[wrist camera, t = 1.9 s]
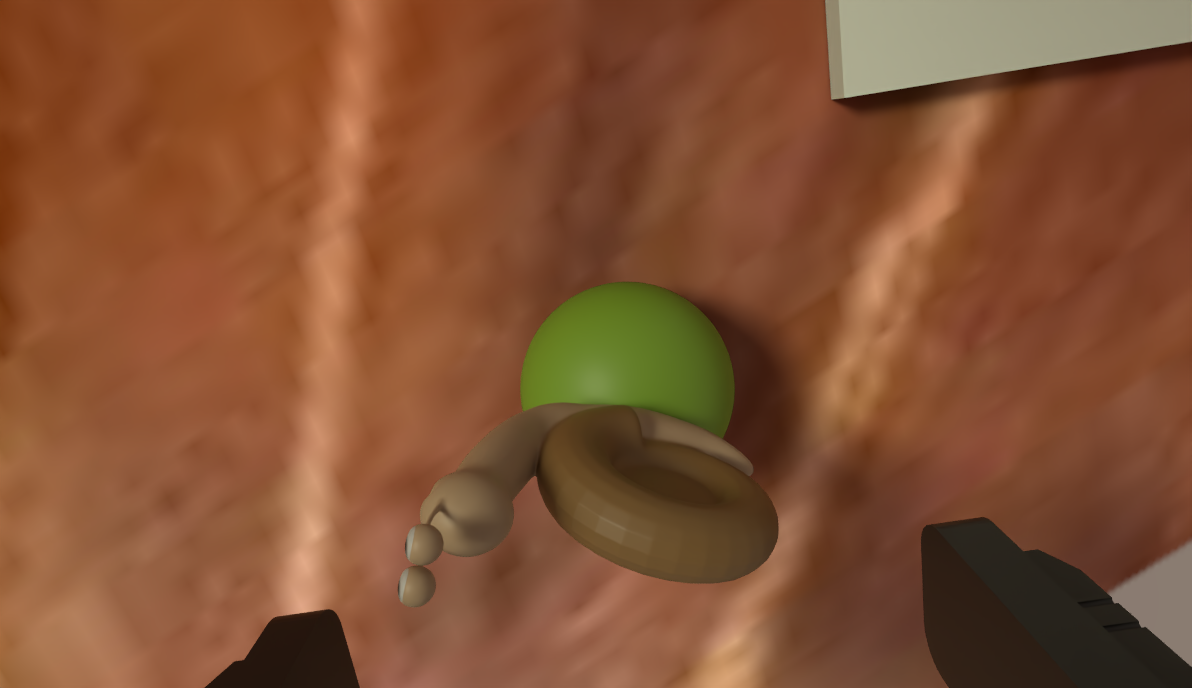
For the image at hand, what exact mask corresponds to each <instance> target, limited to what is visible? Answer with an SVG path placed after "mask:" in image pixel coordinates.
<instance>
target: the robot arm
mask: <svg viewBox="0 0 1192 688" xmlns="http://www.w3.org/2000/svg"><path fill="white" fill-rule="evenodd" d="M921 552H922V578H923V604H924V626H925V633H926V638H927V642H928V646H929V649H930V652H931V655H932V658H933V660H934V663H935V665H936V667H937V669H938V671H939V673H940V675H941V676H942V678H943V679H944V681H945V683H946V684H947V686H948V687H949V688H1192V667H1191V666H1189V665H1188V664H1187V663H1186V662H1185V661H1184V660H1183V659H1181V658H1180V657H1179V656H1178V655H1177V654H1176V653H1174V652H1173V651H1172V650H1171V649H1170V648H1169V647H1168V646H1167V645H1166V644H1164V643H1163V642H1162V641H1161V640H1160V639H1159V638H1158V637H1156V636H1155V635H1154V634H1153V633H1152V632H1151V631H1149V630H1148V629H1147V628H1146V627H1144V628H1141V626H1140V625H1139V621H1138V620H1137V619H1136V618H1135V617H1134V616H1132V615H1131V614H1130V613H1129V612H1128V611H1127V610H1125V609H1124V608H1123V607H1122V606H1121V605H1120V604H1119V603H1116V604H1114V603H1113V601H1112V597H1111V596H1110V595H1108V594H1107V593H1106V592H1105V591H1104V590H1103V589H1102V588H1100V587H1099V586H1098V585H1097V584H1096V583H1095V582H1094V581H1092V580H1091V579H1090V578H1089V577H1088V576H1087V575H1086V574H1084V573H1083V572H1082V571H1081V570H1079V569H1077V568H1075V567H1073V566H1071V565H1069V564H1067V563H1065V562H1063V561H1061V560H1059V559H1057V558H1055V557H1053V556H1050V555H1048V554H1046V553H1044V552H1042V551H1040V550H1038V549H1037V550H1030V551H1022V550H1021V549H1020V548H1019V547H1018V546H1017V545H1016V544H1015V543H1014V542H1013V541H1012V540H1011V539H1010V538H1009V537H1008V536H1007V535H1005V534H1004V533H1003V532H1002V531H1001V530H1000V529H999V528H998V527H997V526H996V525H995V524H994V523H993V522H992V521H990V520H989V519H987V518H984V517H980V518H973V519H966V520H959V521H952V522H945V523H938V524H931V525H926V526H925V527H924V529H923V531H922V536H921ZM205 688H360V687H359V683H358V680H357V676H356V673H355V670H354V666H353V663H352V659H351V656H350V652H349V649H348V646H347V642H346V639H345V635H344V632H343V628H342V625H341V622H340V620H339V617H338V616H337V614H336V613H335V612H334V611H333V610H330V609H328V610H320V611H313V612H307V613H300V614H293V615H286V616H279V617H275V618H273V619H272V620H271V621H270V622H269V623H268V624H267V626H266V627H265V629H264V630H263V632H262V634H261V635H260V637H259V638H258V640H257V641H256V643H255V644H254V646H253V647H252V649H251V650H250V652H249V653H248V655H247V656H246V658H245V659H244V660H242V661H235V662H233V663H232V664H231V665H230V666H229V667H228V668H227V669H225V670H224V671H223V672H222V673H221V674H220V675H219V676H217V677H216V678H215V679H214V680H213V681H212V682H211V683H209V684H208V685H207V686H206V687H205Z"/></svg>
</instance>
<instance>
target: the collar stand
mask: <svg viewBox="0 0 1192 688" xmlns="http://www.w3.org/2000/svg"><path fill="white" fill-rule="evenodd" d="M825 4H826V20H827V37H828V53H829V69H830V85H831V100H832V99H840V98H848V97H854V96H860V95H866V94H872V93H878V92H885V91H891V90H897V89H903V88H909V87H915V86H921V85H928V84H934V83H940V82H946V81H952V80H958V79H964V78H971V77H977V76H983V75H989V74H995V73H1001V72H1008V71H1014V70H1020V69H1026V68H1032V67H1038V66H1044V65H1051V64H1057V63H1063V62H1069V61H1075V60H1081V59H1088V58H1094V57H1100V56H1106V55H1112V54H1118V53H1124V52H1131V51H1137V50H1143V49H1149V48H1155V47H1161V46H1167V45H1174V44H1180V43H1186V42H1192V0H825Z"/></svg>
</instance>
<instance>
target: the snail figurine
mask: <svg viewBox="0 0 1192 688" xmlns="http://www.w3.org/2000/svg"><path fill="white" fill-rule="evenodd" d="M520 391H521V403H522V409H523V412H521V413H519V414H516V415H514V416H512V417H511V418H509V419H507V420H506V421H504V422H503V423H501V424H500V425H498V426H497V427H496V428H494V429H493V430H492V431H491V432H490V433H488V434H487V435H486V436H485V437H484V438H483V439H482V440H481V441H480V442H479V443H478V444H477V445H476V446H475V447H474V448H473V449H472V450H471V451H470V452H469V454H468V455H467V456H466V457H465V459H464V460H463V461H462V463H461V464H460V466H459V467H458V469H457V470H456V472H454V473H451V474H449V475H446V476H444V477H443V478H441V479H440V480H438V481H437V482H436V483H435V485H434V486H433V488H432V491H431V493H430V495H429V496H428V497H427V498H426V499H425V500H424V502H423V504H422V506H421V510H420V521H421V524H419V525H416V526H414V527H413V528H412V529H411V530H410V532H409V533H408V536H407V539H406V543H405V553H406V556H407V558H408V560H410V561H411V562H412V563H413V564H416V565H418V566H411V567H409V568H407V569H406V570H404V572H403V573H402V575H401V577H400V580H399V584H398V596H399V599H400V601H401V602H402V603H403V604H404V605H406V606H408V607H420V606H422V605H424V604H426V603H427V602H428V601H429V600H430V599H431V598H432V596H433V595H434V592H435V588H436V582H435V578H434V576H433V574H432V573H431V571H430V570H428V569H427V568H425V567H423V565H428V564H430V563H432V562H434V561H435V560H436V559H437V558H438V557H439V556H440V554H441V553H442V551H444V552H446V553H448V554H451V555H455V556H460V557H472V556H477V555H481V554H484V553H486V552H488V551H490V550H492V549H494V548H495V547H497V546H498V545H499V544H500V543H501V542H502V541H503V540H504V539H505V538H506V536H507V535H508V533H509V531H510V529H511V527H512V524H513V519H514V509H513V503H512V501H513V500H514V498H515V497H516V496H517V494H518V493H519V492H520V491H521V490H522V489H523V487H524V486H525V485H526V484H527V483H528V481H529V480H530V479H531V478H532V477H534V476H536V477H537V481H538V486H539V490H540V493H541V496H542V498H543V500H544V503H545V505H546V507H547V509H548V510H549V512H550V513H551V515H552V516H553V517H554V519H555V520H556V521H557V523H558V524H559V525H560V526H561V527H562V528H563V529H564V530H565V531H566V532H567V533H568V534H570V535H571V536H572V537H573V538H574V539H575V540H576V541H578V542H579V543H581V544H582V545H584V546H585V547H587V548H588V549H590V550H591V551H593V552H594V553H596V554H597V555H599V556H601V557H603V558H605V559H607V560H609V561H611V562H613V563H615V564H617V565H619V566H621V567H624V568H627V569H629V570H632V571H635V572H638V573H640V574H643V575H647V576H651V577H655V578H659V579H663V580H668V581H676V582H683V583H720V582H726V581H732V580H735V579H738V578H740V577H742V576H745V575H747V574H749V573H751V572H753V571H754V570H756V569H757V568H758V567H760V566H761V565H762V564H763V563H764V562H765V561H766V560H767V559H768V558H769V556H770V555H771V553H772V551H773V549H774V547H775V545H776V542H777V539H778V517H777V513H776V510H775V508H774V506H773V504H772V501H771V499H770V498H769V496H768V495H767V494H766V492H765V491H764V490H763V489H762V488H761V487H760V485H759V484H758V483H756V482H755V481H754V480H753V479H752V478H751V477H749V476H750V475H752V473H753V465H752V464H751V462H750V461H749V460H748V458H747V457H746V456H745V455H743V454H742V453H741V452H740V451H739V450H737V449H736V448H735V447H734V446H732V445H731V444H729V443H728V442H726V441H725V440H723V437H724V435H725V433H726V430H727V428H728V425H729V422H730V419H731V415H732V410H733V405H734V394H735V385H734V374H733V368H732V364H731V360H730V357H729V354H728V351H727V348H726V346H725V344H724V342H723V340H722V338H721V336H720V334H719V333H718V331H717V330H716V328H715V327H714V325H713V324H712V323H711V322H710V320H709V319H708V318H707V317H706V316H705V315H704V314H703V313H702V312H701V311H700V310H699V309H698V308H697V307H696V306H694V305H693V304H692V303H690V302H689V301H688V300H686V299H685V298H683V297H681V296H680V295H678V294H676V293H674V292H672V291H669V290H667V289H664V288H662V287H658V286H655V285H651V284H646V283H639V282H616V283H609V284H604V285H600V286H596V287H593V288H590V289H588V290H585V291H583V292H581V293H579V294H577V295H575V296H573V297H572V298H570V299H568V300H567V301H566V302H564V303H563V304H562V305H560V306H559V307H558V308H557V309H556V310H554V311H553V312H552V313H551V314H550V315H549V317H548V318H547V319H546V320H545V321H544V322H543V324H542V325H541V326H540V328H539V329H538V331H537V332H536V334H535V336H534V338H533V340H532V341H531V344H530V346H529V348H528V351H527V353H526V356H525V360H524V363H523V368H522V374H521V388H520Z"/></svg>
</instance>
